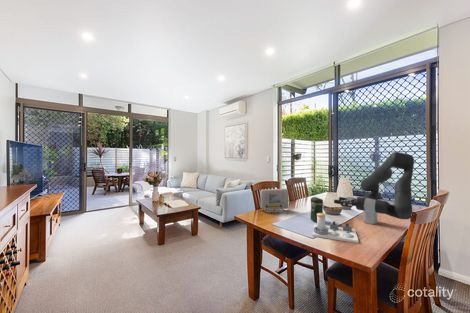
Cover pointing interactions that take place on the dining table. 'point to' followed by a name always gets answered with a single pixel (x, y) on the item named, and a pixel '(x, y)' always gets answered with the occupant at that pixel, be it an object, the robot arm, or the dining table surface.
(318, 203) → the coffee jar
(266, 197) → the network device
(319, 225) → the post
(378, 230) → the dining table surface
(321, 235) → the panel
